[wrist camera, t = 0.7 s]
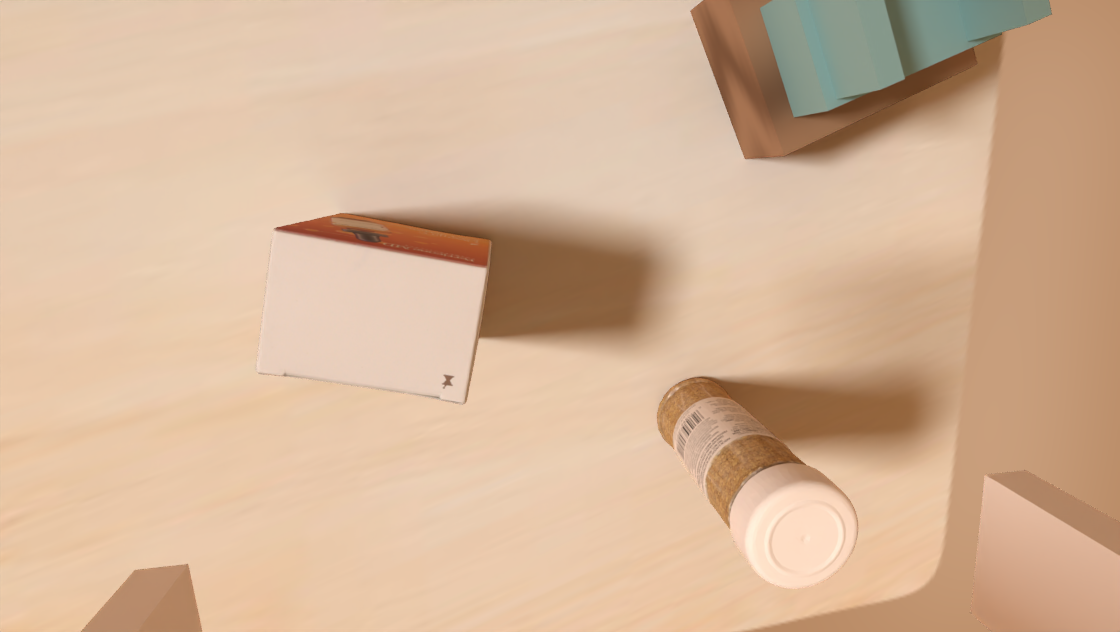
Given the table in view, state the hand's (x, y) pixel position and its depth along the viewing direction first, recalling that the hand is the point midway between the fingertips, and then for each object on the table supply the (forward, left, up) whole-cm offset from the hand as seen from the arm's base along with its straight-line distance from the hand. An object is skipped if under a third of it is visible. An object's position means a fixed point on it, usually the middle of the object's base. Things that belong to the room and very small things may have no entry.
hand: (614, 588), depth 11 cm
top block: (-6, +19, -20) cm, 28 cm away
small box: (-4, -5, -25) cm, 26 cm away
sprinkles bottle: (+10, +6, -25) cm, 28 cm away
